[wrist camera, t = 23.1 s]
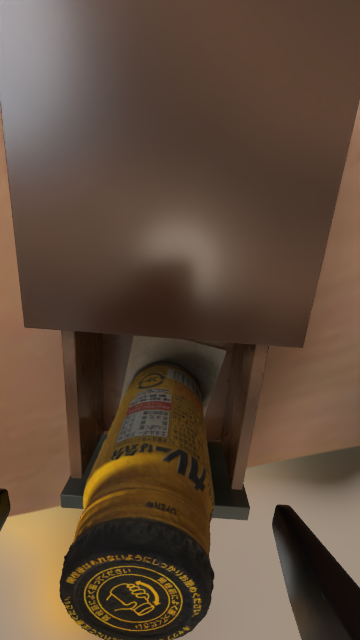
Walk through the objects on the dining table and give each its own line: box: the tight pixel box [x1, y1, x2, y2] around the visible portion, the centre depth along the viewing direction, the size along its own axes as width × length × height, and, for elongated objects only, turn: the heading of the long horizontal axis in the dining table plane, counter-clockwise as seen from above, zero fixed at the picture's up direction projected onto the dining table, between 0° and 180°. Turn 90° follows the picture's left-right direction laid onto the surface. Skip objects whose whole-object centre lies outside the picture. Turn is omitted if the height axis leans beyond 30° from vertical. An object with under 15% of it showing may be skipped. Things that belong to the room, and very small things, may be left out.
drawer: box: [60, 330, 269, 520], centre depth 17 cm, size 20×13×6 cm, turn 176°
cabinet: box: [0, 0, 360, 348], centre depth 13 cm, size 17×15×8 cm
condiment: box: [60, 336, 226, 640], centre depth 13 cm, size 7×8×12 cm
